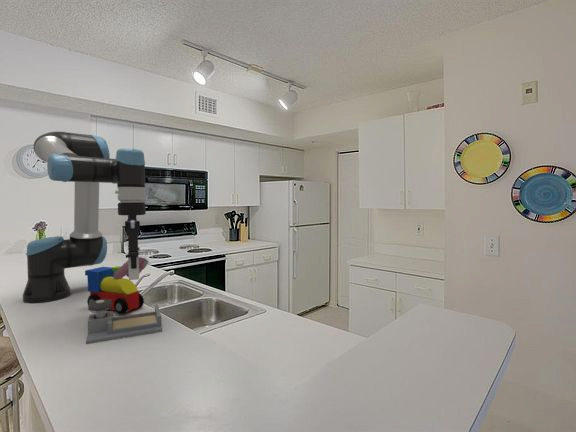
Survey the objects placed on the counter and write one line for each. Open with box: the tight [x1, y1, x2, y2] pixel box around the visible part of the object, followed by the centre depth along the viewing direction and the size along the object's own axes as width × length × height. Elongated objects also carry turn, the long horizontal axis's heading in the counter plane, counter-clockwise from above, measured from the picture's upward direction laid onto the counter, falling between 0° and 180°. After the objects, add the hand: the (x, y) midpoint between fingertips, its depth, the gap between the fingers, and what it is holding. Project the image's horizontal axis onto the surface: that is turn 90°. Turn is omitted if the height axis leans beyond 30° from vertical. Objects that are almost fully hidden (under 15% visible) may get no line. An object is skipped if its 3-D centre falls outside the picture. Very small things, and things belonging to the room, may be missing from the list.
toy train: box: [84, 265, 145, 316], centre depth 116 cm, size 9×20×15 cm, turn 69°
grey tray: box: [85, 304, 163, 345], centre depth 99 cm, size 16×19×4 cm
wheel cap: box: [87, 299, 112, 318], centre depth 96 cm, size 6×6×6 cm
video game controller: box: [113, 256, 149, 280], centre depth 99 cm, size 10×5×7 cm, turn 170°
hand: (133, 275), depth 99 cm, fingers closed on video game controller, 10 cm apart
